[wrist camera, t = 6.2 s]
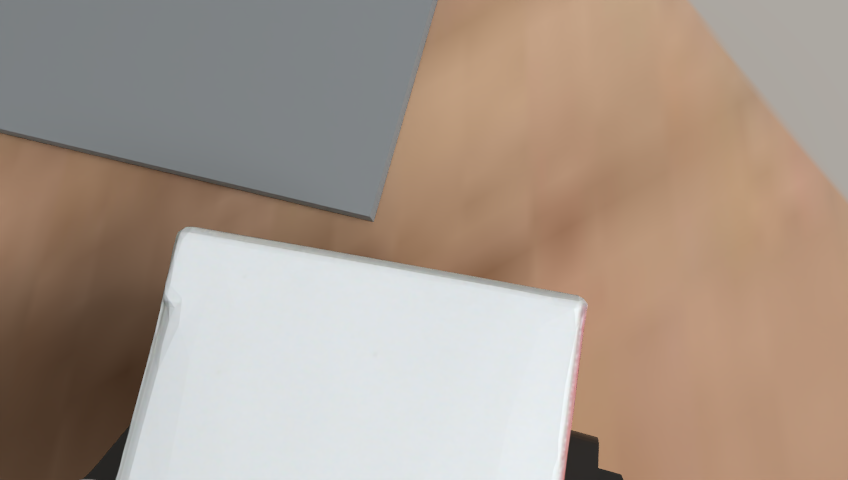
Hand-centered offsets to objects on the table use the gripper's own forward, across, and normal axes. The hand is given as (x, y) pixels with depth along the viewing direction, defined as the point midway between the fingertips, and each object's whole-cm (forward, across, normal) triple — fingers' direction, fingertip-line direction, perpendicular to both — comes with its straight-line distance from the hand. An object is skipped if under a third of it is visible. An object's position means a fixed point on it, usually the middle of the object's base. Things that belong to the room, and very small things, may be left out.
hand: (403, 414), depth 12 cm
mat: (+11, +11, -4) cm, 16 cm away
